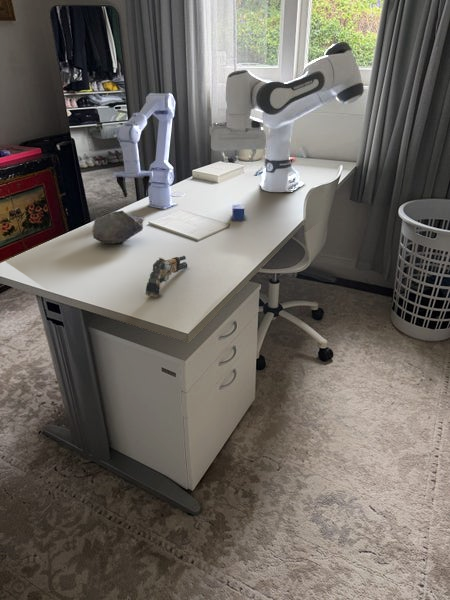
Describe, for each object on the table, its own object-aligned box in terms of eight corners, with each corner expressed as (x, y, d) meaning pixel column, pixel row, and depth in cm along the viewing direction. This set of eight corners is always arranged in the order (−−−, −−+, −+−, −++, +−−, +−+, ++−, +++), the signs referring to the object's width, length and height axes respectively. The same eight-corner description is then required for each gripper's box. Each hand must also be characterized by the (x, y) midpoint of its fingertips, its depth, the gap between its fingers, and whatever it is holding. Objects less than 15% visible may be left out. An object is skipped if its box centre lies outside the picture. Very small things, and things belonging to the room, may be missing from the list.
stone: (131, 200, 152) (144, 211, 140) (139, 226, 157) (152, 240, 146) (83, 215, 146) (92, 228, 134) (93, 242, 152) (103, 257, 140)
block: (233, 220, 166) (233, 208, 163) (232, 216, 170) (232, 204, 168) (244, 220, 166) (244, 208, 164) (243, 216, 170) (243, 204, 168)
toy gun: (142, 297, 112) (143, 260, 110) (178, 282, 131) (180, 250, 128) (153, 299, 111) (154, 262, 108) (188, 284, 130) (190, 252, 127)
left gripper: (109, 163, 153) (115, 199, 160) (149, 162, 154) (153, 198, 161) (113, 158, 159) (118, 194, 166) (151, 158, 160) (155, 193, 167)
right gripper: (209, 124, 147) (210, 164, 154) (267, 122, 148) (266, 163, 155) (209, 121, 153) (210, 160, 160) (265, 120, 153) (264, 159, 160)
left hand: (135, 196), depth 164 cm, fingers open, 7 cm apart
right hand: (238, 162), depth 157 cm, fingers open, 8 cm apart
